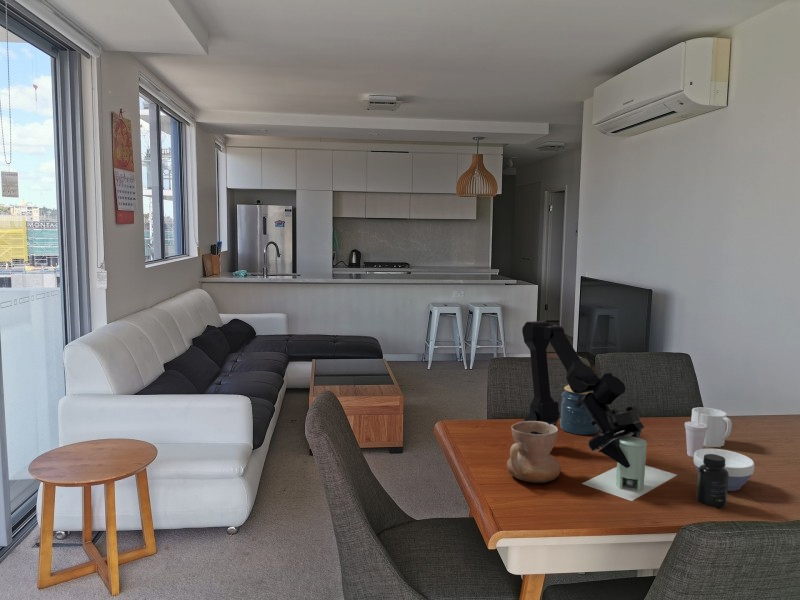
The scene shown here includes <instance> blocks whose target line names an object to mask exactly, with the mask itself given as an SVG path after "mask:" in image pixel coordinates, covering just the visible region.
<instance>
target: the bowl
mask: <svg viewBox="0 0 800 600" xmlns="http://www.w3.org/2000/svg"><path fill="white" fill-rule="evenodd" d="M706 454H715V455H719V456H722V457H724V458H725V467H724V468H725V469H726V470H727V471H728V473H729V479H728V491H727V492H734V491H738V490H740V489H741V488H742V486H744V485H746V483H747V482H748V480H749V479H750V478H751V477H752V475H753V474H754V472H755V461H754V460H753V459H751V458H750V457H749V456H747V455H744V454H741V453H739V452H735V451H732V450H727V449H719V448H702V449H700V450H697V451H696V452H695V453H694V457H693V464H694V466H695V468H696V470H697V471H698V469H699V467H700V466H701V465H703V464H704V463H703V460H704V455H706Z"/></svg>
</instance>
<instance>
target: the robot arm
mask: <svg viewBox="0 0 800 600" xmlns="http://www.w3.org/2000/svg"><path fill="white" fill-rule="evenodd" d="M521 330H522V331H521V333H522V338H523V342H524V343H525V345H526V347H527V348H528V350H529V354H530V365H531V374H532V375H531V377H532V385H533V399H532V401H531V402H530V405H529V414H527V416H526V417H525V418H524V419H523V421H522V422H524V421H526V422H527V421H540V422H545V423H548V424H549V425H551V424H552V425H554V426H556V427H557V423H558V421H559V419H560V416H561V412H560V411H559V402H558V401H555V400H554V399H553V397H552V395H551V386H550V375H549V373H550V372H549V364H548V354H547V353H548V352H547V350H548V346H549V345H551V346H552V349H553V350H554V352H555V353H556V355H557V357H558V359H559V360H560V361H561V363H562V365H563V367H564V369H565V370H566V378H565V379H566V381H567V383H568V385H569V386H570V388H571V390H572V391H573V392H574V393H587V392H590V393H587V394H586V395H585V396H582V397H579V398H578V403H577V407H578V408H579V407H582V406H584V407H585V409H586V410H587V412H588V413H589V415H590V416H591V418H592V419H593V422H592V425H593V426H595V425H597V427H598V428H599V429H598V431H600V432H599V433H596V435H595V436H593V437H592V438H591V439H589V440H588V447H589V448H590V450H591V452H592V453H593V452H596V451H598V452H599V453H601V454H603V455H605V456H607V457H609V458H611V459H612V460H614V461H615V462H616V463H617V462H618V463H620V464H621V465H623V466H624V467H626V468H628V467H630V464H629V462H628V460H627V459H626V457H625V455H624V453H623V452H622V450H621V448H620V446H619V437H623V436H631V437H637V438H640V435H641V434H642V430H644V429H645V426H644V425H643V423H642V422H641V421H640V416H641V413H642V412H641V411H639V409H638V408H637V407H636V406H635V405H630V406H627V407H626V409H625V411H622V412H619V411H618V409H615V408H614V409H612V408H611V404H613V403H614V402H615V401H617V400H618V399H619V398H620V397H621V396H622V395H623V394H624V393H625V392H626V385H625V383H624V382H623V381H622V380H621V379H620V378H618V377H617V376H614V375H613V373H612V372H605V373H604V374H603V375H602V377H599V376H598V375H597V373H596V372H595V371H594V369H592V367H590V366H589V365H587V364H586V363H584V362H583V360H582V359H581V358H580V356H579V355H578V353H577V351H576V350H575V348H574V347H573V345H572V344H571V342H570V340H569V339H568V337H567V335H566V334H565V330H564V328H563V326H562V325H561V326H560V325H556V324H550V323H548V322H547V321H545V320H538V321H536V320H535V321H527V322H525V323H524V325H523V326H522V329H521ZM530 433H531V434H535V435H537V434H541V433H538V432H534V431H533V432H530ZM600 448H601V449H600Z"/></svg>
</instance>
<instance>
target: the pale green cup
mask: <svg viewBox="0 0 800 600" xmlns="http://www.w3.org/2000/svg"><path fill="white" fill-rule="evenodd" d="M647 444H648V442H647V440H646V439H643V438H641V437H639V438H637V437H631V436H623V437H619V446H620V448H621V450H622V452H623V453H624V455H625V457H626V459H627V460H628V462H629V464H630V467H628V468H626V467H624V466H623V465H621V464H620V463H618V462H617V461H616V467H617V474H616V486H617V487H618V488H619V489H622V483H624V478H627V479H636V485H638V487H637V491H639V492H640V491H643V490H644V476H645V465H646V462H647V461H646V460H647Z"/></svg>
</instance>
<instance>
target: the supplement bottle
mask: <svg viewBox="0 0 800 600" xmlns="http://www.w3.org/2000/svg"><path fill="white" fill-rule="evenodd" d="M703 463H704V464H703V465H701V466H700V467H699V469H698V470H697V482H696V483H697V484H696V485H697V486H696V498H695V499H696V501H697V502H698V503H700V504H702V505H704V506H708V507H712V508H715V509H723V508H725V507H726V506H727V504H728V502H727V501H728V492H729V491H728V479H729V473H728V471H727V470H726V469H725V468H724V467H725V458H724V457H722V456H719V455H715V454H706V455H704V460H703Z"/></svg>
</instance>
